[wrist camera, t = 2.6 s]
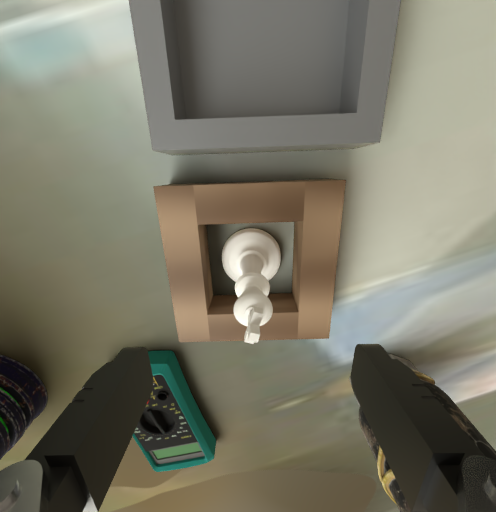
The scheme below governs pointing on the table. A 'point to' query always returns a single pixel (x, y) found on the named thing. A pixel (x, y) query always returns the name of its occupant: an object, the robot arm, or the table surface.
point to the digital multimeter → (172, 420)
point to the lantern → (451, 408)
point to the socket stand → (251, 211)
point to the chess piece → (251, 276)
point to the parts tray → (264, 73)
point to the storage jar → (18, 401)
